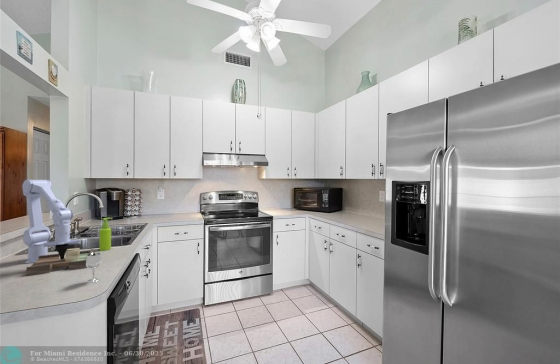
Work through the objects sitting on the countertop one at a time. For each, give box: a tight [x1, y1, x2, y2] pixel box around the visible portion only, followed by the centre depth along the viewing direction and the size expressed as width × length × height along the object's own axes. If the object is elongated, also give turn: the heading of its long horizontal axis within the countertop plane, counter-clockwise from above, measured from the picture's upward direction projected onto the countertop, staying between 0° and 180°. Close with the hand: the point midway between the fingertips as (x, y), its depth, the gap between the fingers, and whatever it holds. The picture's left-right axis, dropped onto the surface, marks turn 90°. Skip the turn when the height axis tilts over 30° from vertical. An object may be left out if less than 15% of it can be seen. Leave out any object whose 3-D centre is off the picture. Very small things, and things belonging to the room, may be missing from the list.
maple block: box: [64, 247, 80, 261], centre depth 129 cm, size 5×5×5 cm
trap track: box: [25, 248, 95, 277], centre depth 127 cm, size 19×23×4 cm
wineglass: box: [86, 252, 103, 284], centre depth 110 cm, size 6×6×12 cm
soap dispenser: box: [99, 217, 113, 252], centre depth 155 cm, size 6×7×20 cm
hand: (62, 258), depth 127 cm, fingers closed
